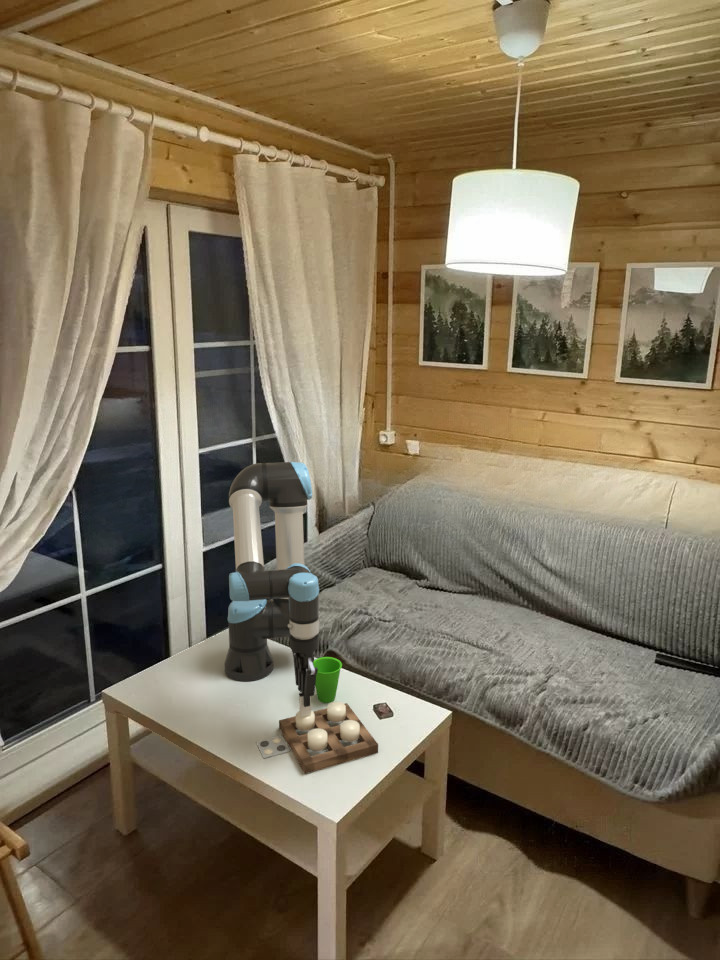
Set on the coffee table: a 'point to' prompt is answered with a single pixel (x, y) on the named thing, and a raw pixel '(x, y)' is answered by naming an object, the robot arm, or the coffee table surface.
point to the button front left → (349, 730)
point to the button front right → (317, 739)
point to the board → (334, 746)
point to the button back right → (305, 721)
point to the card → (272, 747)
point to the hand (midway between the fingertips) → (305, 714)
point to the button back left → (336, 712)
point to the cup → (327, 678)
